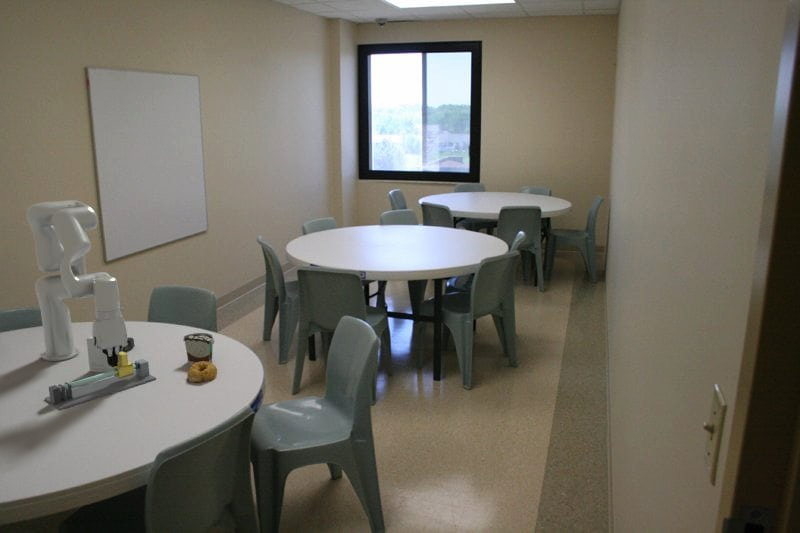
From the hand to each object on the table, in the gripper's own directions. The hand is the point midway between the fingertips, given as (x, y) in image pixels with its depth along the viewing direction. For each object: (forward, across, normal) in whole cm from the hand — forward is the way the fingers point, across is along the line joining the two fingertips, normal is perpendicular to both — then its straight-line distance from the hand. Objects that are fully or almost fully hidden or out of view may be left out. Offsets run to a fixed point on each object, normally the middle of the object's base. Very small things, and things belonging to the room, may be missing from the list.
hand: (113, 365), depth 216 cm
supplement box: (+7, -5, -17) cm, 19 cm away
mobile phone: (+8, -16, -28) cm, 33 cm away
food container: (+7, -33, +3) cm, 34 cm away
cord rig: (+7, +5, 0) cm, 9 cm away
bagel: (+8, -24, +16) cm, 29 cm away
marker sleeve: (+5, -3, 0) cm, 6 cm away
